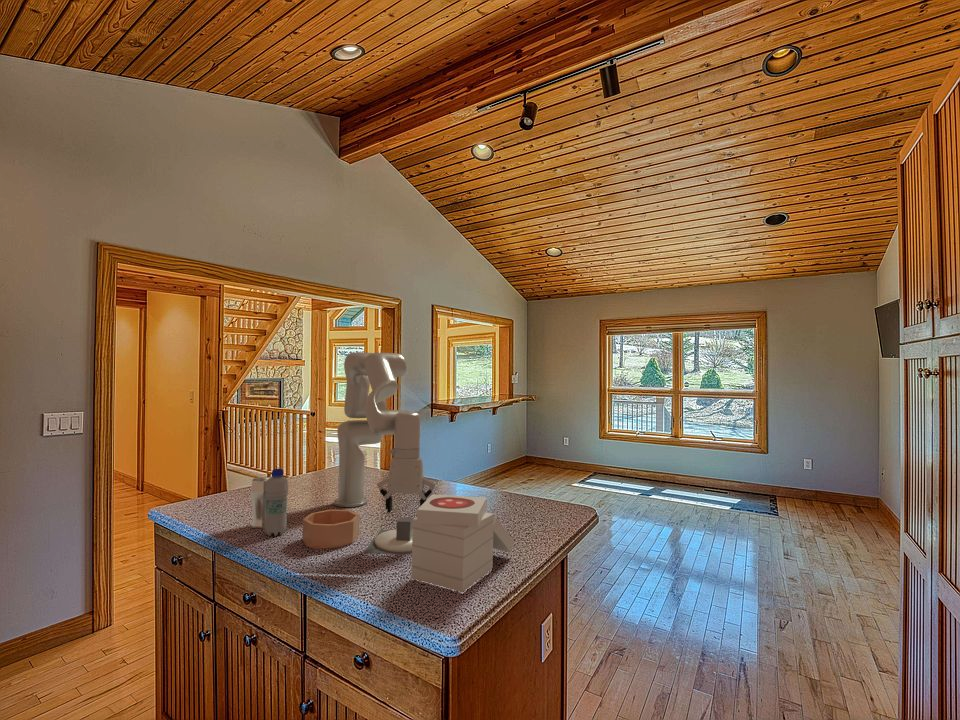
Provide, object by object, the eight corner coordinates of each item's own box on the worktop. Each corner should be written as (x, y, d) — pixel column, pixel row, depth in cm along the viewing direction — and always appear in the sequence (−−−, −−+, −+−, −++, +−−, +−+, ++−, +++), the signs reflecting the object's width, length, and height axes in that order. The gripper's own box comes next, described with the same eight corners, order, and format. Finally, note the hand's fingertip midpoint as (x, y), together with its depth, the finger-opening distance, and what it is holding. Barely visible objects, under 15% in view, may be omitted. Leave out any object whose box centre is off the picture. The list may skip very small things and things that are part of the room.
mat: (380, 531, 150) (380, 529, 150) (440, 534, 149) (440, 532, 149) (363, 554, 131) (363, 552, 131) (431, 557, 130) (431, 555, 130)
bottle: (291, 531, 148) (293, 467, 148) (276, 538, 141) (278, 471, 142) (274, 529, 150) (276, 465, 150) (258, 535, 144) (260, 469, 144)
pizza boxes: (520, 556, 132) (521, 491, 132) (464, 600, 106) (466, 519, 106) (461, 543, 141) (463, 482, 142) (397, 580, 115) (399, 506, 116)
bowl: (316, 531, 149) (317, 509, 149) (363, 533, 148) (363, 510, 148) (295, 549, 134) (296, 524, 134) (347, 551, 133) (348, 526, 133)
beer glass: (264, 529, 149) (265, 482, 149) (244, 527, 150) (246, 480, 151) (277, 523, 156) (279, 477, 156) (259, 521, 157) (260, 476, 157)
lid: (382, 530, 149) (383, 510, 149) (436, 533, 148) (437, 512, 148) (368, 551, 132) (368, 527, 132) (428, 553, 131) (429, 530, 131)
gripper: (374, 455, 137) (373, 514, 136) (433, 456, 136) (432, 516, 136) (381, 451, 145) (380, 507, 144) (437, 452, 144) (436, 509, 143)
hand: (405, 512), depth 140 cm, fingers open, 9 cm apart
